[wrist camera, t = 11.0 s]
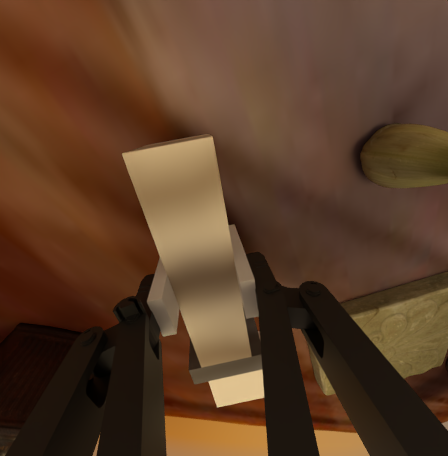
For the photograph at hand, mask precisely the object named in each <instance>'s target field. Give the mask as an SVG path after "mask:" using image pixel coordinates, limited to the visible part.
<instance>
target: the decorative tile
mask: <svg viewBox="0 0 448 456" xmlns="http://www.w3.org/2000/svg"><path fill="white" fill-rule="evenodd" d="M340 305H341V306H342V307H343V308H344V309H345V310H346V312H347V313H348V314H349V315H350V316H351V317H352V319H353V320H354V321H355V322H356V323H357V325H358V326H359V327H360V328H361V329H362V330H363V332H364V333H365V334H366V335H367V336H368V337H369V339H370V340H371V341H372V342H373V343H374V345H375V346H376V347H377V348H378V349H379V350H380V352H381V353H382V354H383V355H384V356H385V357H386V359H387V360H388V361H389V362H390V363H391V365H392V366H393V367H394V368H395V369H396V370H397V372H398V373H399V374H400V375H401V376H402V377H403V379H405V378H406V377H408V376H412V375H415V374H422V373H424V372H426V371H428V370H429V369H431V368H434V367H437V366H441V365H442V363H443V361H444V358H445V355H446V353H447V348H448V272H444V273H441V274H438V275H434V276H431V277H428V278H424V279H421V280H418V281H414V282H411V283H408V284H404V285H401V286H397V287H394V288H391V289H387V290H384V291H381V292H377V293H374V294H371V295H367V296H364V297H361V298H357V299H354V300H351V301H347V302H344V303H341V304H340ZM307 343H308V342H307ZM308 347H309V351H310V357H311V362H312V365H313V369H314V374H315V378H316V380H317V382H318V384H319V386H320V387H321V389H322V391H323V393H324V394H325V395H331V394H335V391H334V389H333V387H332V386H331V384H330V382H329V380H328V378H327V376H326V375H325V373H324V371H323V369H322V367H321V365H320V364H319V362H318V360H317V358H316V356H315V355H314V353H313V351H312V349H311V347H310V345H309V344H308Z"/></svg>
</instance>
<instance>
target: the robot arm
mask: <svg viewBox="0 0 448 456" xmlns="http://www.w3.org/2000/svg"><path fill="white" fill-rule="evenodd" d="M228 226H229V232H230V237H231V243H232V248H233V254H234V262H235V268H236V273H237V279H238V285H239V290H240V295H241V299H242V303H243V308H244V312H245V316H246V319H248V318H253V317H258V316H259V327H260V342H261V356H262V371H263V386H264V400H265V415H266V429H267V443H268V456H319V451H318V447H317V442H316V437H315V433H314V428H313V424H312V419H311V415H310V410H309V406H308V401H307V396H306V392H305V387H304V383H303V378H302V374H301V369H300V365H299V360H298V356H297V351H296V346H295V342H294V337H293V333H292V328H297V329H301V331H302V333H303V334H304V336H305V338H306V340H307V342H308V344H309V345H310V347H311V349H312V351H313V353H314V355H315V356H316V358H317V360H318V362H319V364H320V365H321V367H322V369H323V371H324V373H325V375H326V376H327V378H328V380H329V382H330V384H331V386H332V387H333V389H334V391H335V393H336V395H337V397H338V398H339V400H340V402H341V404H342V406H343V407H344V409H345V411H346V413H347V415H348V417H349V418H350V420H351V422H352V424H353V426H354V428H355V429H356V431H357V433H358V435H359V437H360V438H361V440H362V442H363V444H364V446H365V448H366V449H367V451H368V453H369V455H370V456H448V431H447V429H446V428H445V427H444V426H443V425H442V423H441V422H440V421H439V420H438V419H437V417H436V416H435V415H434V414H433V413H432V412H431V410H430V409H429V408H428V407H427V406H426V405H425V403H424V402H423V401H422V400H421V399H420V397H419V396H418V395H417V394H416V393H415V392H414V390H413V389H412V388H411V387H410V386H409V385H408V383H407V382H406V381H405V380H404V379H403V377H402V376H401V375H400V374H399V373H398V372H397V370H396V369H395V368H394V367H393V366H392V365H391V363H390V362H389V361H388V360H387V359H386V357H385V356H384V355H383V354H382V353H381V352H380V350H379V349H378V348H377V347H376V346H375V345H374V343H373V342H372V341H371V340H370V339H369V337H368V336H367V335H366V334H365V333H364V332H363V330H362V329H361V328H360V327H359V326H358V325H357V323H356V322H355V321H354V320H353V319H352V317H351V316H350V315H349V314H348V313H347V312H346V310H345V309H344V308H343V307H342V306H341V305H340V303H339V302H338V301H337V300H336V299H335V297H334V296H333V295H332V294H331V293H330V292H329V290H328V289H327V288H326V287H325V286H324V285H322V284H321V283H318V282H314V281H307V282H304V283H302V284H301V285H300V287H299V288H287V287H284V286H282V285H281V284H280V283H278V282H277V281H276V280H275V278H274V276H273V273H272V271H271V269H270V267H269V265H268V263H267V261H266V259H265V257H264V256H263V255H262V254H261V253H259V252H255V253H250V254H245V252H244V249H243V246H242V243H241V241H240V238H239V235H238V232H237V230H236V227H235V224H233V225H228ZM113 312H114V314H115V316H116V317H117V319H118V321H119V324H117V325H115V326H113V327H111V328H109V329H107V330H105V331H104V330H103V329H102V328H101V327H92V328H89V329H88V330H86V331H84V332H83V333H82V334H81V335H79V336H78V338H77V339H76V340H75V342H74V343H73V345H72V347H71V348H70V350H69V352H68V353H67V355H66V356H65V358H64V360H63V361H62V363H61V365H60V366H59V368H58V370H57V371H56V373H55V374H54V376H53V378H52V379H51V381H50V383H49V384H48V386H47V387H46V389H45V391H44V392H43V394H42V396H41V397H40V399H39V401H38V402H37V404H36V405H35V407H34V409H33V410H32V412H31V414H30V415H29V417H28V419H27V420H26V422H25V423H24V425H23V427H22V428H21V430H20V432H19V433H18V435H17V437H16V438H15V440H14V441H13V443H12V445H11V446H10V448H9V450H8V451H7V453H6V455H5V456H92V455H93V452H94V450H95V446H96V444H97V441H98V438H99V435H100V439H99V445H98V450H97V456H166V438H165V414H164V392H163V371H162V349H161V342H160V339H159V334H160V331H161V333H162V335H163V337H164V336H169V335H173V334H177V325H178V315H179V305H178V303H177V300H176V297H175V295H174V292H173V289H172V286H171V284H170V281H169V278H168V276H167V274H166V271H165V268H164V266H163V263H162V260H161V258H160V259H159V262H158V265H157V269H156V272H155V274H151V275H146V276H145V278H144V279H143V280H142V281H141V284H140V286H139V289H138V293H137V295H136V296H131V297H127V298H125V299H123V300H122V301H120V302H119V303H118V304H117V305H116V306H115V307H114V310H113ZM446 369H447V371H448V362H447V365H446ZM100 432H101V433H100Z"/></svg>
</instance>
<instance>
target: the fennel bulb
mask: <svg viewBox="0 0 448 456" xmlns="http://www.w3.org/2000/svg"><path fill="white" fill-rule="evenodd" d="M360 159H361V162H362V169H363V172H364V173H365V175H366V177H367V178H368V179H369V180H371V181H372V182H374V183H376V184H378V185H380V186H383V187H388V188H414V187H425V186H434V185H440V184H446V183H448V132H446V131H443V130H440V129H436V128H433V127H429V126H424V125H418V124H399V123H395V124H389V125H386V126H384V127H383V128H381V129H379V130H378V131H377V132H376V133H374V134H373V136H372V137H371V138H370V139H369V140H368V141H367V142H366V143H365V145H364V146H363V149H362V152H361V154H360Z"/></svg>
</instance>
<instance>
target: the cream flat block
mask: <svg viewBox="0 0 448 456" xmlns="http://www.w3.org/2000/svg"><path fill="white" fill-rule="evenodd" d="M258 334H259V338H260V332H259V331H258ZM208 382H209V385H210V387H211V390H212V393H213V396H214V399H215V402H216V405H217V407H221V406H226V405H231V404H236V403H240V402H245V401H250V400H255V399H259V398H264V386H263V371H262V370H258V371H253V372H249V373H244V374H239V375H235V376H230V377H226V378H221V379H217V380H212V381H208Z"/></svg>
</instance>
